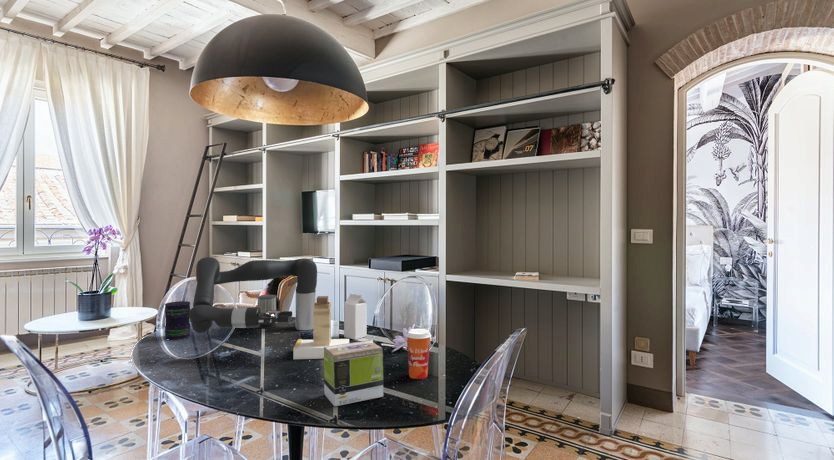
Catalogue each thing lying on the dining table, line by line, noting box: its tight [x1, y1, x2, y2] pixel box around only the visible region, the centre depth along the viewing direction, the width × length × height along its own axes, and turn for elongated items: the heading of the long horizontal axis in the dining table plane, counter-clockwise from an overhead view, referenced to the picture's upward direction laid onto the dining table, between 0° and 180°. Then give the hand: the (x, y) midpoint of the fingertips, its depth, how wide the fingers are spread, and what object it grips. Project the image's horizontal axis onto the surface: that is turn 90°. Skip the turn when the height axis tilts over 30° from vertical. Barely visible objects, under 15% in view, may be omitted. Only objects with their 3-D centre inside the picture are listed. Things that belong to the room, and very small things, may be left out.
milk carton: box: [343, 293, 368, 340], centre depth 195 cm, size 7×7×19 cm
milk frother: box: [256, 294, 281, 329], centre depth 216 cm, size 14×16×15 cm
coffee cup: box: [406, 328, 432, 380], centre depth 146 cm, size 8×8×15 cm
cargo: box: [316, 295, 329, 305], centre depth 170 cm, size 4×4×4 cm
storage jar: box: [164, 300, 191, 341], centre depth 192 cm, size 10×10×15 cm
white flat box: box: [292, 338, 350, 360], centre depth 170 cm, size 12×20×4 cm, turn 97°
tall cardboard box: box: [312, 301, 332, 346], centre depth 170 cm, size 6×6×16 cm
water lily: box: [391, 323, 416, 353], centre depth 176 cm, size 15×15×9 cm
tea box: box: [323, 340, 384, 407], centre depth 129 cm, size 15×10×15 cm
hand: (290, 316), depth 169 cm, fingers open, 8 cm apart
